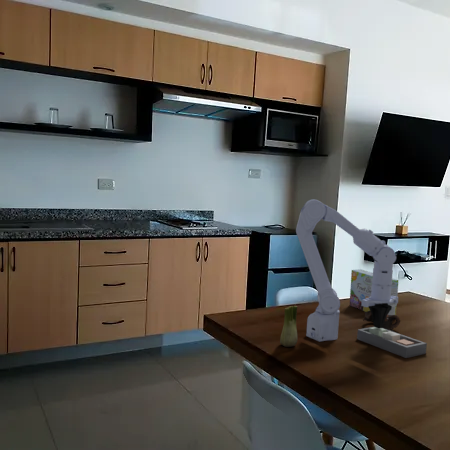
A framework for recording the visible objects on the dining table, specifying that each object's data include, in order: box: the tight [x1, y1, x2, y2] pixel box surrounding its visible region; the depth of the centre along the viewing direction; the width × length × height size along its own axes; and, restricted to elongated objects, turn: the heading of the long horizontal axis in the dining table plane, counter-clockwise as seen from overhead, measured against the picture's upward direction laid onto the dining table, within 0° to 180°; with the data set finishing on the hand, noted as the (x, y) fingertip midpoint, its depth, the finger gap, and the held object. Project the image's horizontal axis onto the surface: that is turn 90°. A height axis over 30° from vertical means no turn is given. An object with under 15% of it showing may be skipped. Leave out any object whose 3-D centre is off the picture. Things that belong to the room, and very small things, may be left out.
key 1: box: [368, 326, 387, 337], centre depth 151 cm, size 4×4×2 cm
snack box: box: [349, 268, 399, 320], centre depth 191 cm, size 21×6×15 cm, turn 25°
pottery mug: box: [362, 311, 401, 331], centre depth 167 cm, size 12×10×8 cm
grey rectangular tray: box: [356, 326, 428, 359], centre depth 147 cm, size 9×18×4 cm, turn 33°
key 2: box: [396, 339, 414, 346], centre depth 143 cm, size 4×4×2 cm
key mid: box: [382, 330, 400, 342], centre depth 147 cm, size 4×4×2 cm
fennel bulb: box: [279, 305, 298, 348], centre depth 145 cm, size 6×5×12 cm
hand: (378, 327), depth 151 cm, fingers closed
